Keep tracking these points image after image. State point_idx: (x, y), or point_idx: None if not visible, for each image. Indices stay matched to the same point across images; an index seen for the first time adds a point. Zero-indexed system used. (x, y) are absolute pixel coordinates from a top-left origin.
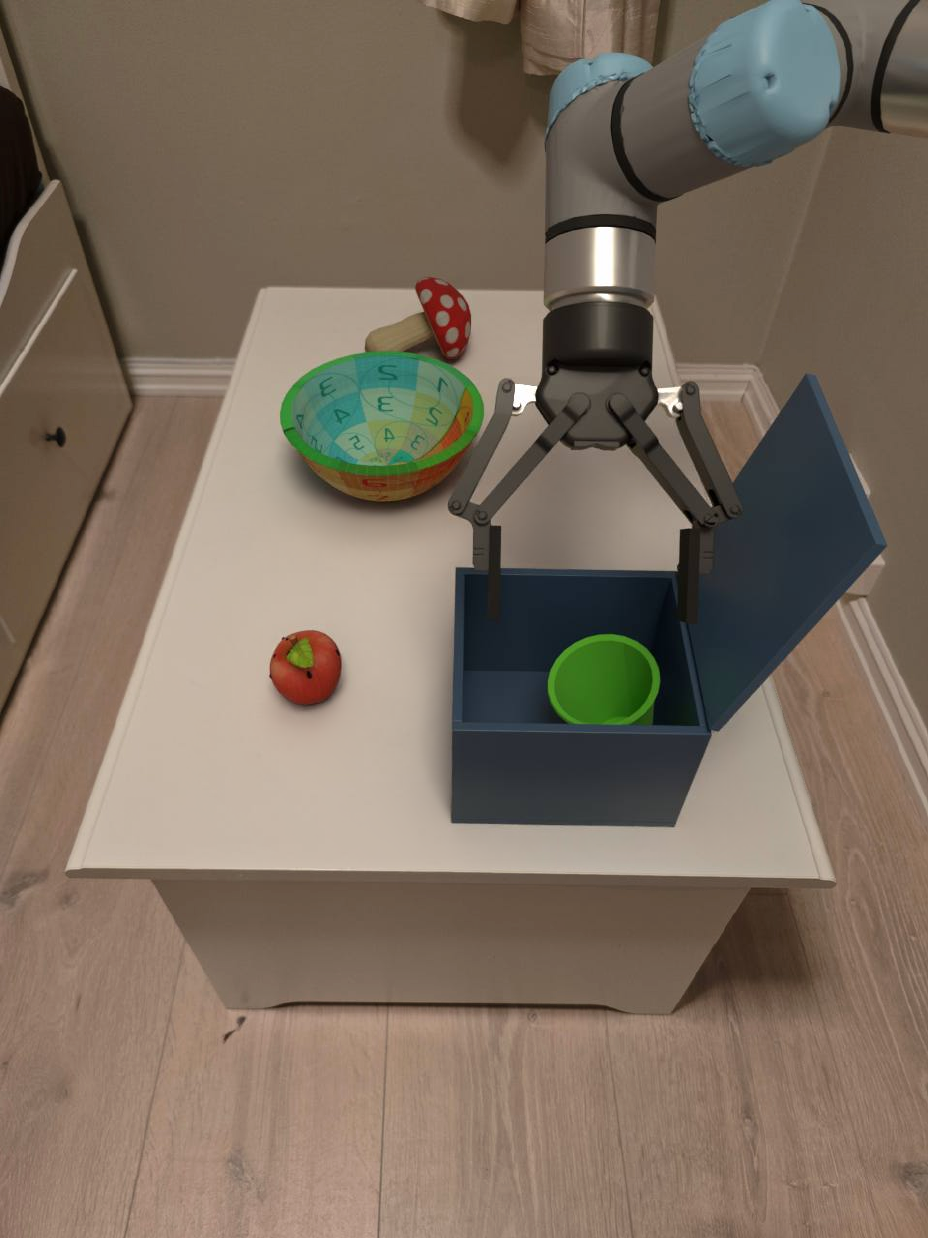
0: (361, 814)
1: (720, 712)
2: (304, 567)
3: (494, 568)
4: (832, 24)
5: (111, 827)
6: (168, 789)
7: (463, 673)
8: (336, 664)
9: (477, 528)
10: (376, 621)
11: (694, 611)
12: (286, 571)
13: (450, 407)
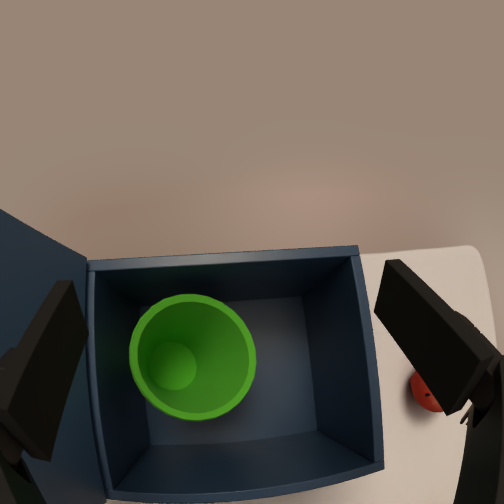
0: (367, 289)
1: (70, 253)
2: (437, 484)
3: (440, 306)
4: None
5: (476, 263)
6: (466, 290)
7: (316, 427)
8: (425, 384)
9: (498, 358)
10: (387, 460)
11: (54, 290)
12: (447, 476)
13: None
